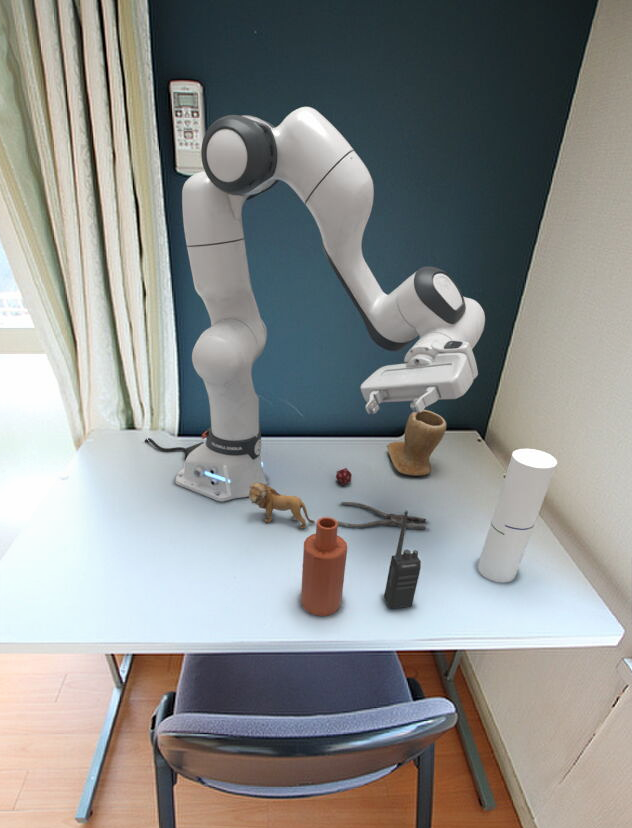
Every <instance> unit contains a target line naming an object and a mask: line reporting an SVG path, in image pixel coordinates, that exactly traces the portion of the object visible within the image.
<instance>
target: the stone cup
mask: <svg viewBox="0 0 632 828" xmlns="http://www.w3.org/2000/svg"><path fill="white" fill-rule="evenodd" d="M446 430H447V422H446V420H445V418H443V417H442V416H441V415H439V414H438V413H435V412H434V411H431V410H427V409H424V410H423V411H422V412H412V411H411V413H410V414H409V416H408V418H407V422H406V425H405V428H404V441H393V442H390V443H388V444H387V445H386V449H387V452H388V455H389V457H390V460H391V462H392V465H393V467H394V468H395V470H396V471H397V472H399V473H400V474H402V475H407V476H415V477H416V476H417V477H418V476H425V475H429V474H430V473H431V472H432V468H431V467H432V466H431V462H430V457H431V455H432V453H433V452H434V451H435V450H436V448H437V447H438V445H439V444H440V442H441V441H442V440H443V438H444V436H445V433H446Z"/></svg>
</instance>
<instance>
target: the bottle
mask: <svg viewBox="0 0 632 828" xmlns="http://www.w3.org/2000/svg"><path fill="white" fill-rule="evenodd" d="M337 521H338V520H337V519H335V518H333V517H329V516H324V517H323V516H322V517H321V518H318V519H317V521H316V528H315V533H311V534H310V535H309V536H307V537H306V538H305V540H304V541H303V555H302V573H301V575H302V576H301V591H300V595H301V596H300V602H301V606H302V607H303V609H304V610H305V611H306V612H308V613H309V614H311V615H314V616H319V617H327V616H330V615H333V614H335V613H336V612H338V611H339V610H340V608H341V605H342V604H341V603H342V601H343V600H342V599H343V589H344V581H345V573H346V564H347V554H348V543H347V542H346V540H345V539H344V538H343V537H341V536H340V535H338V531H339V525H338V522H337Z"/></svg>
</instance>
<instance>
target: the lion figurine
mask: <svg viewBox="0 0 632 828" xmlns="http://www.w3.org/2000/svg"><path fill="white" fill-rule="evenodd" d="M248 497H249V501H250V502H251V504H253V505H254V504H255V505H256V506H258V508H259V509H264V510H265V516H266V518H265V519H264V521H265V523H266V524H268V523H270V522H271V521H272V519H273V518H272V517H273V516H272V515H273V511H274V510H276V511H281V512H285V511H290V512H291V514H292V516H291V519H292V520H293V521H299V523H301V524H299V526H298V527H299V529H300V530H305V528H306V527H307V523H306V520H307V522H308V523H310V524H315V520H312V519H310V518H309V514H308V510H307V507H306V505H305V503H304V502H303V500H302V499H301V498H300V497H298V496H296V495H285V494H279V493H278V492H277V490H276V489H274V488H272V487H271V486H268V484H266V485H265V484H262V483H254V484H253V485H252V486H250V491H249V496H248ZM301 509H302V510H303V513H304V516H305V518H304V517H303V515H302V512H301Z"/></svg>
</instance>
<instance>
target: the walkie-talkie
mask: <svg viewBox="0 0 632 828" xmlns="http://www.w3.org/2000/svg"><path fill="white" fill-rule="evenodd" d="M403 515H404V518H403V522H402V527H400V532H399V538H398V542H397V546H396V551H395V555H391V558H390V563H389V569H388V574H387V579H386V584H385V589H384V594H383V598H384V601H385V602H386V605H387V607H388V608H389V609H391V610H392V609H399V608H406V607H411V606H413V603H414V598H415V594H416V590H417V586H418V582H419V576H420V572H421V566H422V561H421V559H420V558H419V557H418V556H419V551H418V550H416V549H413V551H412V552H411V550H409V549H404V550H403V545H404V539H405V535H406V534H405V533H406V529H407V528H406V522H407V517H408V516H409V510H407V509H406V510H404V513H403ZM407 523H408V522H407ZM402 551H403V552H402Z"/></svg>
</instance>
